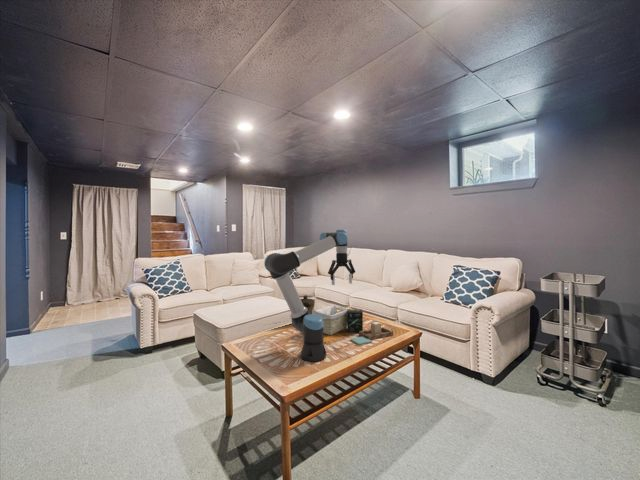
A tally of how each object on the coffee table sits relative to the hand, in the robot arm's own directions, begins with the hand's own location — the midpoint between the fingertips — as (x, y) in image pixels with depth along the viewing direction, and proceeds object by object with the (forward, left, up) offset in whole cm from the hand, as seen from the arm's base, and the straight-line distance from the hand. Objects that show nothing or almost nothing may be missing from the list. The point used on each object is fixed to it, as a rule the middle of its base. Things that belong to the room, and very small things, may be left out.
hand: (341, 284), depth 197 cm
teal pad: (+8, -11, -37) cm, 39 cm away
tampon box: (+17, +10, -37) cm, 42 cm away
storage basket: (+2, +19, -36) cm, 41 cm away
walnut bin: (+24, -6, -37) cm, 44 cm away
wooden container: (-7, +45, -37) cm, 59 cm away
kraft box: (+24, -6, -36) cm, 44 cm away
